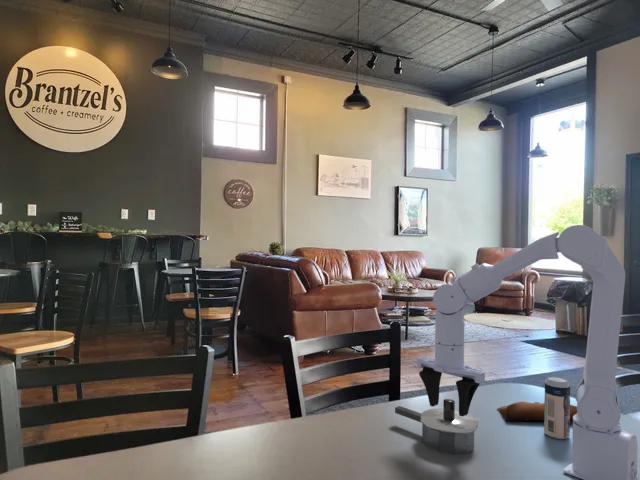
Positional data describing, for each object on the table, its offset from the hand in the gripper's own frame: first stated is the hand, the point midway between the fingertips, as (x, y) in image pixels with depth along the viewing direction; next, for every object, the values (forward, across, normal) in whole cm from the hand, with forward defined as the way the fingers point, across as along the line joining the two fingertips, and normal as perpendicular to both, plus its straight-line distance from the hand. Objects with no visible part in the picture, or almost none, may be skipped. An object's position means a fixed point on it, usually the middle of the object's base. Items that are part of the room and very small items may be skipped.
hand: (448, 409), depth 92 cm
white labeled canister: (+7, +13, +21) cm, 26 cm away
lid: (+3, 0, 0) cm, 3 cm away
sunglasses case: (+7, +6, +29) cm, 30 cm away
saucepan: (+7, -4, 0) cm, 8 cm away
